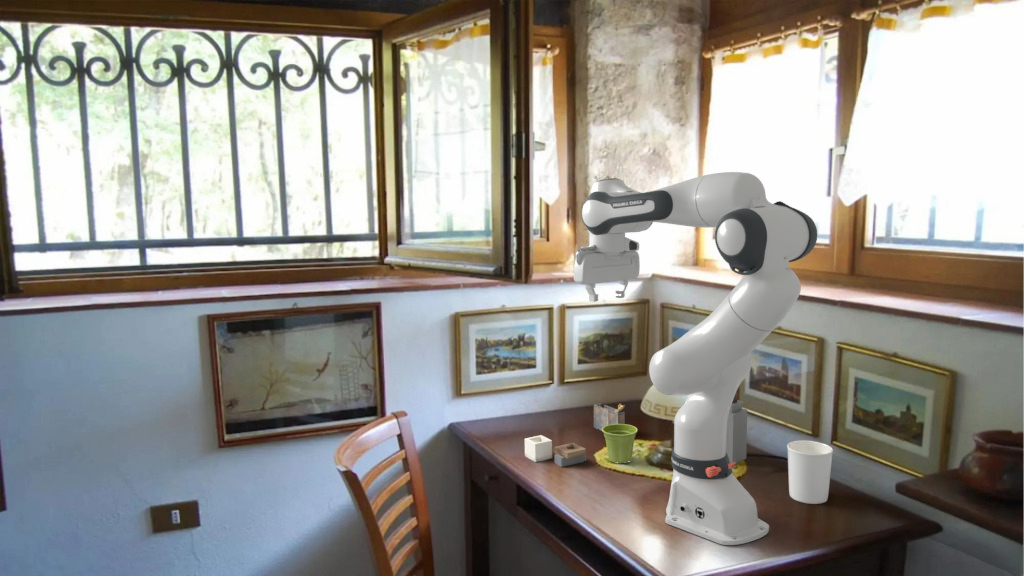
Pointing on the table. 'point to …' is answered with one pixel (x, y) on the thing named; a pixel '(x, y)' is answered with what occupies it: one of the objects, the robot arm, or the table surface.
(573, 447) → the lid
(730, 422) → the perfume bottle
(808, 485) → the candle holder
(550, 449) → the white open box
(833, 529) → the table surface
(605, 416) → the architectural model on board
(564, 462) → the gray rectangular block
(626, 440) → the plant pot
